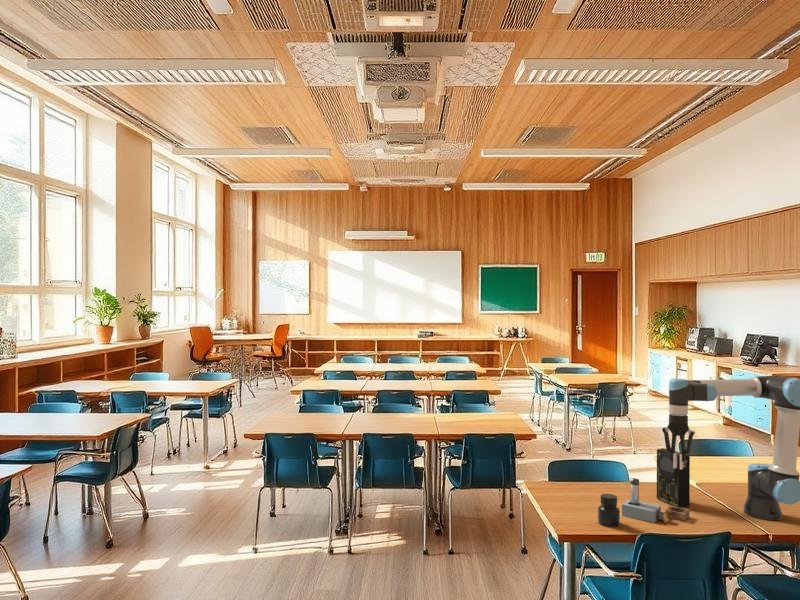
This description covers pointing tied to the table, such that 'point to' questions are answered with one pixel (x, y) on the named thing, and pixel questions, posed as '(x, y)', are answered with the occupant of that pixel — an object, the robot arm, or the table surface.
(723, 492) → the table surface
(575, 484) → the table surface
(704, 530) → the table surface
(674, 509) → the rack
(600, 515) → the ink bottle
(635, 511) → the socket block
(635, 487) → the drill peg
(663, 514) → the drift key
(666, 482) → the black hard drive
